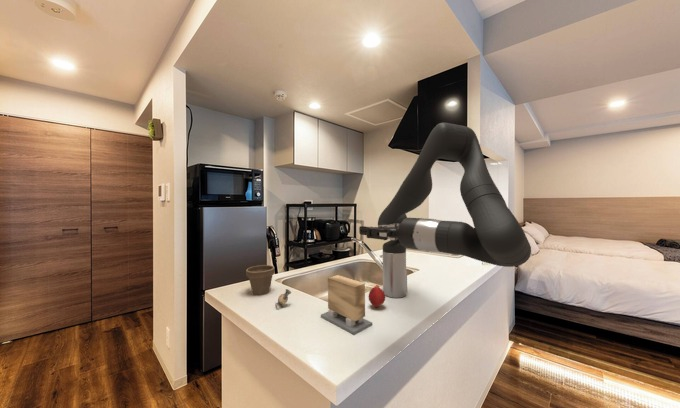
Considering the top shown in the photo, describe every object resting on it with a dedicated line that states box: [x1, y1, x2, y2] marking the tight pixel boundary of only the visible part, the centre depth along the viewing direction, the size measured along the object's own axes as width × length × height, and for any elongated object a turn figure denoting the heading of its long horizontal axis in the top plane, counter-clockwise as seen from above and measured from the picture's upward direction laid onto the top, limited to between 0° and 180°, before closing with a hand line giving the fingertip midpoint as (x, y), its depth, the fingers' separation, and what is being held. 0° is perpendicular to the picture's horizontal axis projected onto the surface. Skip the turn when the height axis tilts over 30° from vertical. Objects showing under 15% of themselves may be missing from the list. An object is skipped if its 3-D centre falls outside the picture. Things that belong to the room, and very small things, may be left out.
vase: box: [275, 288, 292, 310], centre depth 90 cm, size 5×5×6 cm
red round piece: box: [368, 284, 386, 308], centre depth 89 cm, size 6×6×8 cm
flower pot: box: [245, 264, 276, 296], centre depth 104 cm, size 12×11×10 cm
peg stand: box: [320, 309, 373, 335], centre depth 79 cm, size 8×15×3 cm, turn 43°
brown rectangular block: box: [327, 274, 366, 321], centre depth 79 cm, size 4×12×10 cm, turn 43°
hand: (370, 228), depth 71 cm, fingers open, 8 cm apart
